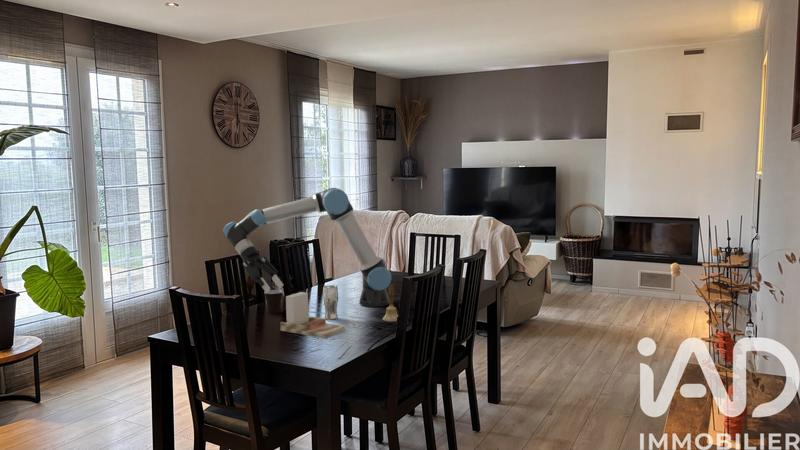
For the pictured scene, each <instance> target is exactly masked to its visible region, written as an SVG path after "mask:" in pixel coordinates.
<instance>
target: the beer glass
mask: <svg viewBox="0 0 800 450" xmlns="http://www.w3.org/2000/svg"><path fill="white" fill-rule="evenodd" d="M322 289H323V290H322V299H323V304H324V305H323V306H324V311H325V312H324V313H325V314H324V319H326V320H327V321H335V320H338V318H339V317H338V302H339V290H338V289H339V288H338V285H332V284H331V285H324V286H323V288H322Z"/></svg>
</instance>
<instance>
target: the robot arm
mask: <svg viewBox="0 0 800 450" xmlns="http://www.w3.org/2000/svg"><path fill="white" fill-rule="evenodd" d="M315 212H316V213H317V212H318V213H324V212H327V215H328V216H329V218H330V220H331V221H332V222H335V223H337V225H338V227H339V230H341V232H342V234H343V236H344V238H345V239H346V241H347V243H348V244H349V246H350V248H351V250H352V252H353V253H354V255H355V257H356V259H357V260H358V262H359V264H360V268H359V270H360V272H361V274H362V290H361V294H360V297H359V305H360V306H363V307H369V308H370V307H371V308H373V307H375V308H377V307H379V308H380V307H385V306H387V305H390V298H389V293H388V292H387V288H388V287H390V284H391V282H392V273H391V271H390V270H389V269H388V268H387V266H386V265H387V263H386V260H385V259H384V258H381V256H377V254H376V252H375V251H374V249H373V247H372V246H371V244H370V243H369V242H370V241H368V238H367V236H366V235H365V233H364V232H363V230H362V228H361V225H360V224H359V223H358V221H357V218H355V215H354V208H353V205H352V204H351V202H350V200H349V196H348V195H347V193H346V192H345V191H344V190H343V189H340V188H337V187H331V188H328V189H324V190H322V191H320V192H316V193H314V194H313V196H309V197H305V198H302V199H298V200H294V201H290V202H285V203H282V204H278V205H273V206H270V207H267V208H263V209H258V208H256V209H253V211H250V212H248V213H247V215H246V216H244V218H243V219H241V220H240V221H239V222H236V221H230V222H229V223H227V224H226V225H225V226H224V227H223V230H222V232H223V234H224V236H225V237H226V239H227V240H228V242H230V244H231V246H232V247H233V248H234V250H236V253H237V254H238V255H239V256H240V258H241V259H242V261H243V263H242V267H243V268H244V269H245V270H246V272H247V274H248V276H249V277H250V279H251V281H252V282H254V283H258V284H259V286H260V287H262V289H263V290H264V292H266V293H268V291H269V290H272V289H271V287H270V286H269V284H268V283H267V282H266V280H265V279H264V278H263V277H261V275H260V271H259V269H262V270H263V272H265V273H266V274H268V275H269V276H270V277H271V280H272V281H273V282H274V284H275V285H276V286H277V288H278V290H282V288H283V286H284V283H283V282H282V281H281V279H280V277H279V275H278V274H279V271H278V270H277V268H276V267H275V266H274V265H273V264H272V263H271V261H269V260H268V258H267V256H264V257H261V256H260V255H259V251H258V249H257V248H256V247H255V246H254V243H252V241H251V240H250V239H249V238H248V236H250V235H251V234H252V233H254V232H255V231H256V230H258V229H259V228H260V227H262V226H264V225H267V224H268V225H270V224H272V223H275V222H276V223H277V222H280V221H283V220H288V219H292V218H297V217H299V216H302V215H303V216H304V215H307V214H312V213H315Z"/></svg>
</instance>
